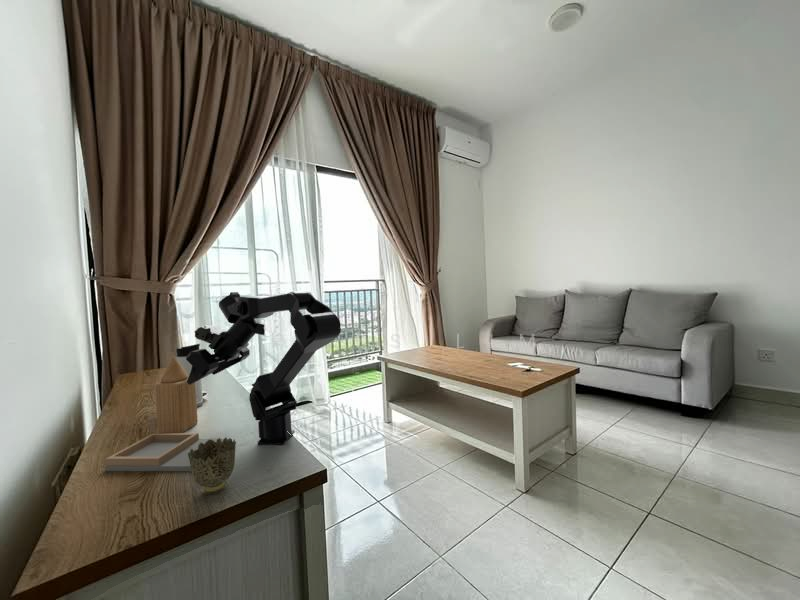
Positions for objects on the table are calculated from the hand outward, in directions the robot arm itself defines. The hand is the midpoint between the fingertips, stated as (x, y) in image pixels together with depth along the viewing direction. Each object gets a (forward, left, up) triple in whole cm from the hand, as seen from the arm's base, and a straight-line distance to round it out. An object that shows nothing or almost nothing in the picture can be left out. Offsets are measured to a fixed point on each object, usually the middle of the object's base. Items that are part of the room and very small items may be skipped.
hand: (201, 378), depth 86 cm
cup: (-21, +26, -14) cm, 36 cm away
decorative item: (+7, 0, -14) cm, 16 cm away
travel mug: (+16, -17, -14) cm, 27 cm away
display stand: (-3, +14, -14) cm, 20 cm away
